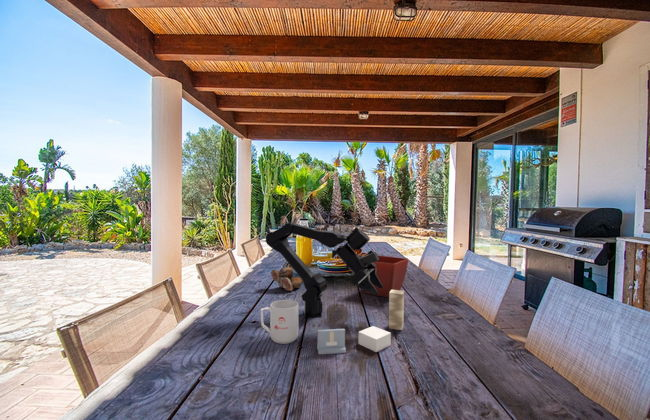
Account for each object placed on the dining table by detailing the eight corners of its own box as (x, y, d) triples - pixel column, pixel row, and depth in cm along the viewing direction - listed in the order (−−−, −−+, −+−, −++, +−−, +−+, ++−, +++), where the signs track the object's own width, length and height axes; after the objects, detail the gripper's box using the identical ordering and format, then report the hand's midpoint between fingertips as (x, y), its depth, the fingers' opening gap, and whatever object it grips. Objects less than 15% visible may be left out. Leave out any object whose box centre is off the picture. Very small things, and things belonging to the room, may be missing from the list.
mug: (299, 333, 100) (299, 299, 100) (296, 345, 92) (297, 308, 91) (263, 332, 101) (263, 299, 100) (257, 344, 92) (257, 308, 92)
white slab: (358, 344, 93) (358, 331, 93) (372, 338, 98) (373, 325, 98) (376, 353, 88) (376, 339, 88) (390, 345, 92) (390, 332, 92)
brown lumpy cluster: (270, 272, 162) (269, 269, 148) (299, 264, 165) (300, 261, 151) (275, 296, 158) (274, 295, 144) (305, 288, 161) (307, 287, 147)
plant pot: (374, 285, 162) (374, 254, 162) (408, 292, 151) (409, 258, 151) (356, 293, 146) (356, 259, 146) (393, 301, 135) (393, 264, 135)
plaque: (318, 354, 86) (318, 333, 86) (316, 347, 90) (317, 328, 90) (345, 352, 87) (346, 332, 87) (342, 346, 91) (343, 326, 91)
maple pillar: (388, 328, 105) (389, 292, 105) (390, 323, 109) (391, 289, 109) (401, 330, 104) (402, 294, 103) (403, 325, 108) (403, 290, 108)
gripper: (359, 247, 101) (392, 282, 98) (371, 241, 119) (399, 271, 115) (337, 268, 104) (368, 304, 100) (351, 259, 122) (378, 289, 118)
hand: (379, 291), depth 108 cm, fingers open, 9 cm apart
